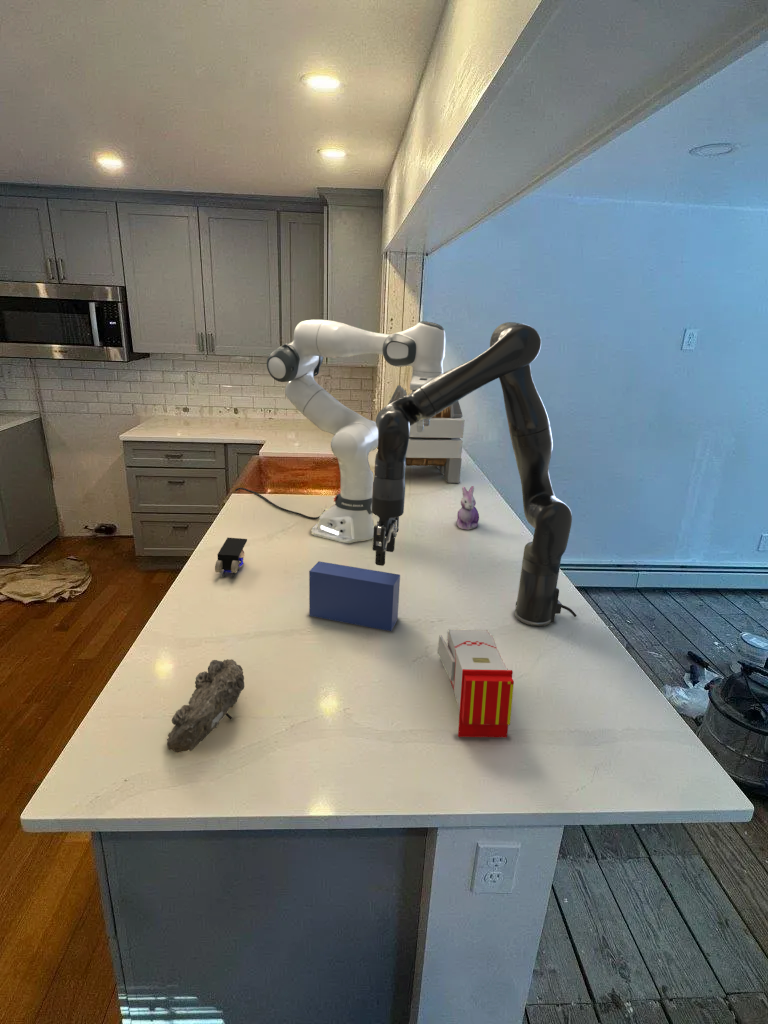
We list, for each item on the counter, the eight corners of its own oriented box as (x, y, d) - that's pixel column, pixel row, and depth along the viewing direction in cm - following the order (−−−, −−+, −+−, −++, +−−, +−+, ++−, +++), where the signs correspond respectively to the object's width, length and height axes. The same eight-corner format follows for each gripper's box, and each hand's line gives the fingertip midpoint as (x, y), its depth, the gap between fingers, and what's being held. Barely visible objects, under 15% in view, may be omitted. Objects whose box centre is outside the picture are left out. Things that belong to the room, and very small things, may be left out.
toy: (488, 613, 130) (523, 677, 101) (484, 667, 133) (517, 744, 104) (435, 612, 130) (455, 676, 101) (432, 666, 133) (451, 743, 103)
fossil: (192, 660, 117) (244, 628, 112) (224, 691, 120) (276, 661, 115) (142, 746, 98) (202, 712, 93) (182, 779, 101) (242, 748, 96)
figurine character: (238, 584, 162) (249, 557, 175) (236, 562, 158) (247, 536, 172) (215, 584, 161) (227, 556, 175) (212, 561, 158) (225, 535, 171)
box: (309, 615, 145) (309, 570, 140) (318, 604, 150) (318, 561, 146) (391, 631, 139) (393, 585, 135) (397, 619, 145) (400, 574, 141)
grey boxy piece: (382, 463, 289) (386, 382, 275) (445, 464, 293) (451, 384, 279) (390, 482, 257) (394, 392, 243) (460, 483, 261) (468, 394, 247)
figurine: (464, 532, 204) (468, 492, 199) (449, 522, 212) (452, 484, 207) (486, 528, 208) (490, 489, 203) (469, 519, 216) (473, 481, 211)
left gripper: (423, 376, 174) (419, 421, 178) (408, 384, 155) (405, 433, 160) (443, 378, 172) (439, 423, 177) (431, 386, 154) (427, 436, 158)
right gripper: (396, 505, 124) (392, 572, 129) (411, 487, 137) (407, 549, 142) (363, 501, 126) (361, 567, 131) (381, 483, 139) (378, 544, 144)
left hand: (423, 428), depth 168 cm, fingers open, 8 cm apart
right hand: (385, 557), depth 137 cm, fingers open, 8 cm apart
